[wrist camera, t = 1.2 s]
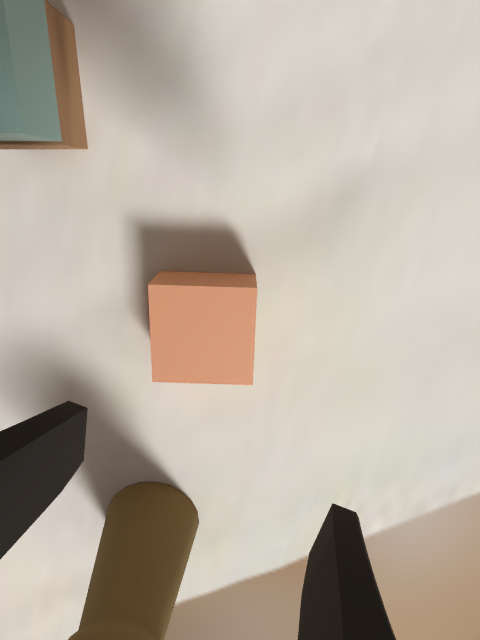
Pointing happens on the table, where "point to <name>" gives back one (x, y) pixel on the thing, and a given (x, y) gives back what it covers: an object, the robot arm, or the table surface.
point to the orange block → (202, 327)
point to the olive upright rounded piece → (139, 564)
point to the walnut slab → (62, 87)
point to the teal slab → (26, 74)
